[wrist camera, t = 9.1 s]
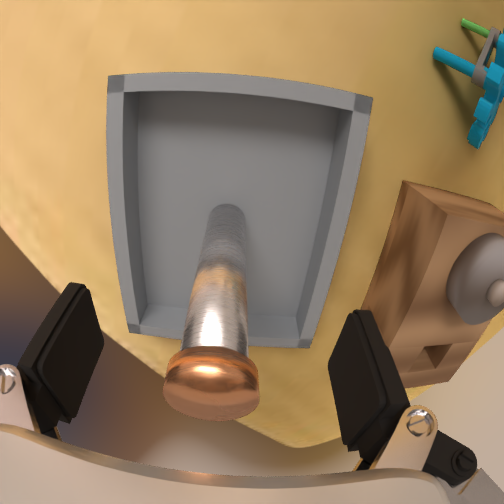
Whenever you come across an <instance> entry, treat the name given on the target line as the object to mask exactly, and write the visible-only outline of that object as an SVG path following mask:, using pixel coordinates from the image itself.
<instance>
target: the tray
mask: <svg viewBox="0 0 504 504" xmlns="http://www.w3.org/2000/svg"><path fill="white" fill-rule="evenodd" d="M372 101H373V98H372V97H368V96H364V95H360V94H356V93H352V92H348V91H344V90H339V89H334V88H330V87H325V86H320V85H314V84H309V83H303V82H297V81H290V80H283V79H276V78H268V77H259V76H249V75H237V74H223V73H199V72H160V73H137V74H123V75H112V76H108V89H107V122H106V139H107V173H108V190H109V203H110V215H111V225H112V234H113V242H114V250H115V257H116V264H117V271H118V277H119V283H120V289H121V295H122V300H123V305H124V310H125V315H126V320H127V325H128V329H129V333H136V334H143V335H150V336H157V337H164V338H172V339H181V340H182V337H183V332H184V327H185V322H186V317H187V312H188V307H189V302H190V297H191V293H192V288H193V283H194V279H195V274H196V270H197V265H198V261H199V256H200V252H201V248H202V243H203V239H204V235H205V231H206V227H207V223H208V218H209V215H210V213H211V211H212V210H213V209H214V208H215V207H216V206H218V205H220V204H226V203H227V204H233V205H236V206H237V207H239V208H240V209H241V210H242V211H243V213H244V215H245V225H246V273H247V317H248V346H263V347H284V348H310V345H311V343H312V340H313V337H314V334H315V331H316V328H317V325H318V322H319V319H320V316H321V313H322V309H323V306H324V303H325V300H326V297H327V293H328V290H329V287H330V284H331V280H332V277H333V273H334V270H335V266H336V263H337V259H338V256H339V252H340V249H341V245H342V241H343V237H344V234H345V230H346V226H347V222H348V218H349V214H350V210H351V206H352V202H353V197H354V193H355V189H356V184H357V180H358V175H359V171H360V166H361V161H362V156H363V151H364V146H365V141H366V136H367V130H368V125H369V119H370V113H371V107H372Z"/></svg>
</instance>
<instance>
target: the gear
mask: <svg viewBox="0 0 504 504" xmlns="http://www.w3.org/2000/svg"><path fill="white" fill-rule="evenodd" d="M461 26H463V27H465V28H467V29H469V30H471V31H473V32H476V33H478V34H480V35H482V36H484V37H486V38H487V40H486V42H485V45H484V47H483V50H482V52H481V54H480V57H479V59H478V61H477V63H476V65H474V64H472V63H470V62H468V61H466V60H464V59H462V58H460V57H458V56H456V55H454V54H452V53H450V52H448V51H446V50H444V49H441V48H439V47H436V48H435V50H434V53H433V58H434V59H436V60H438V61H440V62H442V63H444V64H446V65H448V66H450V67H452V68H454V69H456V70H458V71H460V72H462V73H464V74H466V75H468V76H469V77H471V78H472V79H471V82H472V83H474V84H476V85H477V86H479V87H481V88H482V89H484V90H486V91H485V95H484V97H483V98H482V97H480V99H479V102H478V104H477V107H476V110H475V113H474V117H476V118H477V119H476V121H475V122H474V123H473V124H472V126H471V128H470V131H469V134H468V137H467V139H468V140H469V142H468V143H469V144H471V145H472V146H474V147H475V148H477V149H479V147H480V145H481V143H482V141H484V139H485V137H486V135H487V133H488V130H489V127H490V125H492V123H493V120H494V118H495V116H496V113H497V110H498V106H499V104H500V103H501V102H502V100H503V97H504V30H503V34H502V33H501V31H500V30H498V29H496V28H494V27H492V28H491V30H490V31H489V30H487V29H485V28H483V27H481V26H479V25H477V24H475V23H473V22H471V21H468V20H466V19H464V18H463V19H462V22H461ZM493 48H496V57H495V62H494V63H493V62H491V64H490V67H489V68H487V67H486V65H487V63H488V60H489V58H490V55H491V53H492V50H493Z"/></svg>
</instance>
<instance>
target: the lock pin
mask: <svg viewBox="0 0 504 504" xmlns="http://www.w3.org/2000/svg"><path fill="white" fill-rule="evenodd" d="M163 396H164V399H165V400H166V402H167V403H168V404H169V405H170V406H171V407H172V408H174V409H175V410H177V411H178V412H180V413H182V414H184V415H187V416H190V417H193V418H196V419H201V420H208V421H226V420H233V419H237V418H241V417H243V416H246V415H248V414H249V413H251V412H252V411H254V410H255V409H256V407H257V406H258V404H259V381H258V370H257V368H256V366H255V364H254V363H253V362H252V361H251V360H250V359H249V357H248V317H247V273H246V225H245V215H244V213H243V211H242V210H241V209H240V208H239V207H237V206H236V205H233V204H227V203H226V204H220V205H218V206H216V207H215V208H214V209H213V210H212V211H211V213H210V215H209V218H208V223H207V227H206V231H205V235H204V239H203V243H202V248H201V252H200V256H199V261H198V265H197V270H196V274H195V279H194V283H193V288H192V293H191V297H190V302H189V307H188V312H187V317H186V322H185V327H184V332H183V337H182V342H181V347H180V352H178V353H176V354H175V355H174V356H173V357H172V358H171V359H170V361H169V363H168V367H167V372H166V377H165V382H164V387H163Z"/></svg>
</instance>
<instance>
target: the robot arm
mask: <svg viewBox="0 0 504 504" xmlns="http://www.w3.org/2000/svg"><path fill="white" fill-rule="evenodd" d="M103 346H104V339H103V335H102V332H101V329H100V326H99V322H98V319H97V315H96V312H95V308H94V305H93V301H92V297H91V294H90V290H89V289H87V288H86V286H85V285H84V284H79V283H72V282H71V283H69V284H68V285H67V287H66V288H65V289H64V291H63V292H62V294H61V295H60V297H59V298H58V300H57V301H56V303H55V304H54V306H53V307H52V309H51V310H50V312H49V313H48V315H47V316H46V318H45V319H44V321H43V322H42V324H41V326H40V327H39V329H38V330H37V332H36V334H35V335H34V337H33V338H32V340H31V342H30V343H29V345H28V347H27V348H26V350H25V352H24V354H23V355H22V357H21V359H20V361H19V363H18V366H17V368H16V367H14V366H12V365H8V364H5V365H1V366H0V504H504V493H503V491H502V490H501V489H500V488H499V487H498V486H497V485H496V484H495V482H494V481H493V480H492V479H491V478H490V477H489V476H488V475H487V474H486V473H485V472H484V470H483V469H482V468H480V469H477V459H476V456H475V454H474V453H473V451H472V450H470V449H469V448H468V447H466V446H464V445H462V444H461V443H459V442H457V441H456V440H454V439H452V438H451V437H449V436H447V435H446V434H444V433H442V432H440V431H439V430H437V429H438V422H437V419H436V417H435V415H434V414H433V412H432V411H431V410H429V409H428V408H426V407H424V406H420V405H414V406H410V403H409V400H408V397H407V394H406V391H405V389H404V386H403V383H402V381H401V378H400V375H399V373H398V370H397V367H396V365H395V362H394V360H393V357H392V355H391V352H390V350H389V348H388V347H387V346H386V345H385V343H384V340H383V338H382V335H381V333H380V331H379V328H378V326H377V323H376V321H375V319H374V316H373V314H372V312H371V311H370V310H354V311H353V313H350V314H349V315H348V317H347V319H346V321H345V324H344V326H343V329H342V331H341V334H340V336H339V338H338V341H337V343H336V345H335V348H334V350H333V352H332V354H331V357H330V359H329V362H328V371H329V375H330V380H331V385H332V390H333V395H334V400H335V405H336V410H337V415H338V420H339V426H340V431H341V436H342V441H343V444H344V445H347V447H348V452H349V451H357V450H359V453H360V457H361V458H360V460H359V462H358V463H357V465H356V466H355V468H354V469H353V471H352V472H343V473H335V474H321V475H307V476H285V477H252V476H229V475H215V474H205V473H195V472H188V471H180V470H174V469H167V468H161V467H156V466H151V465H145V464H140V463H136V462H131V461H127V460H123V459H119V458H115V457H111V456H107V455H104V454H100V453H97V452H93V451H90V450H87V449H83V448H80V447H77V446H74V445H71V444H68V443H65V442H63V441H62V439H61V436H60V434H59V431H58V429H57V423H58V421H59V420H60V421H63V422H66V423H69V424H70V422H71V420H72V418H75V417H76V415H77V413H78V410H79V407H80V404H81V402H82V399H83V396H84V394H85V391H86V388H87V386H88V383H89V381H90V378H91V376H92V373H93V371H94V368H95V366H96V364H97V361H98V358H99V356H100V354H101V351H102V349H103Z"/></svg>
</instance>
